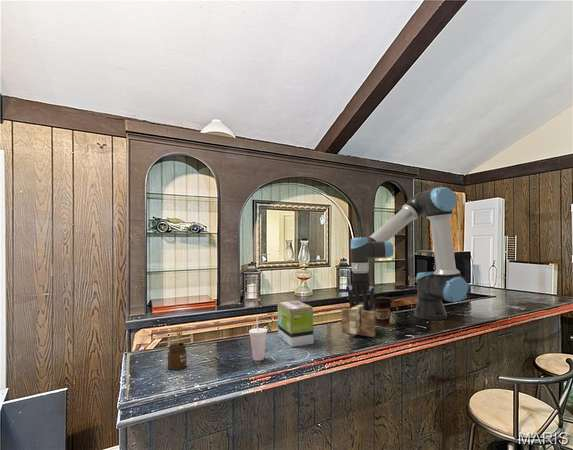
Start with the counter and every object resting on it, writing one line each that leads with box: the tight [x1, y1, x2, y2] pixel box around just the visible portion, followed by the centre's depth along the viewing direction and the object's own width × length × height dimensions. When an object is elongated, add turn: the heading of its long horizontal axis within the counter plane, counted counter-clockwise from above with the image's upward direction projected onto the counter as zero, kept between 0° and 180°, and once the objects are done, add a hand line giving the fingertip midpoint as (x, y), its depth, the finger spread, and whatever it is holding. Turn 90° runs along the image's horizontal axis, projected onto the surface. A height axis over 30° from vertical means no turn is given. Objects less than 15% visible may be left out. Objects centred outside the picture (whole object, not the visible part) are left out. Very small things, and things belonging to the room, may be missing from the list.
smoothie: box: [248, 316, 268, 362], centre depth 111 cm, size 6×6×14 cm
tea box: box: [277, 300, 315, 348], centre depth 131 cm, size 15×10×15 cm, turn 22°
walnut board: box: [341, 308, 376, 338], centre depth 138 cm, size 14×2×10 cm, turn 56°
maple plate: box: [348, 303, 365, 335], centre depth 138 cm, size 13×2×10 cm, turn 146°
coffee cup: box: [373, 296, 392, 327], centre depth 151 cm, size 9×8×13 cm
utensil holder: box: [167, 326, 188, 371], centre depth 105 cm, size 6×6×12 cm
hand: (362, 325), depth 141 cm, fingers closed on maple plate, 2 cm apart
